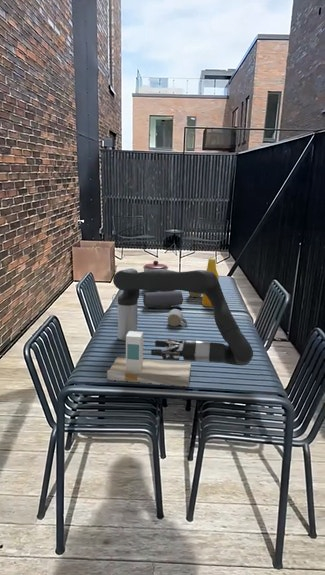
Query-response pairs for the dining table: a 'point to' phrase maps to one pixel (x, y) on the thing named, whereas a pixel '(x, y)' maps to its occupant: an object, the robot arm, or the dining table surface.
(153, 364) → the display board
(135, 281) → the robot arm
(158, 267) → the canister
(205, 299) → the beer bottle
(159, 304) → the bluetooth speaker
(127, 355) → the carton
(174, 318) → the ceramic mug
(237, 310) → the dining table surface
